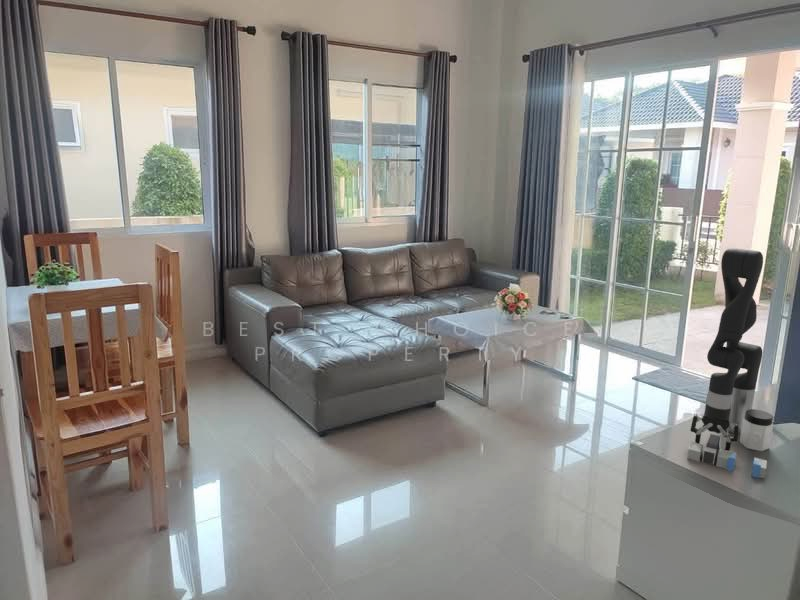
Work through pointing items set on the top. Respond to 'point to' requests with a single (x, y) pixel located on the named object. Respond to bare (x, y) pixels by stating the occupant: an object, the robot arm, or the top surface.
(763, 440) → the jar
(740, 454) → the top surface
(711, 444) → the tall dark pillar
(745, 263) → the robot arm
